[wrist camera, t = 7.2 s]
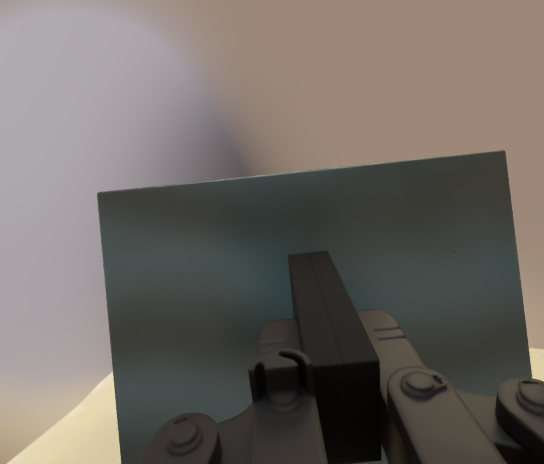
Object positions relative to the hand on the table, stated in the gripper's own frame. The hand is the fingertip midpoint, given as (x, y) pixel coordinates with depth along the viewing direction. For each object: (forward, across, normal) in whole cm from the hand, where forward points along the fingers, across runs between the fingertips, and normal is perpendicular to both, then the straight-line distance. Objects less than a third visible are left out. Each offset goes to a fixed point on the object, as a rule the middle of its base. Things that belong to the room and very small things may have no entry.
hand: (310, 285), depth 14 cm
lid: (+1, 0, -3) cm, 3 cm away
